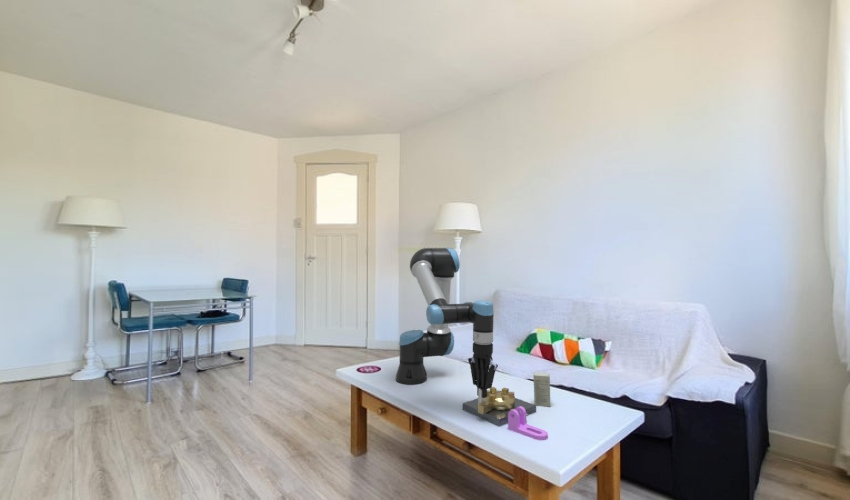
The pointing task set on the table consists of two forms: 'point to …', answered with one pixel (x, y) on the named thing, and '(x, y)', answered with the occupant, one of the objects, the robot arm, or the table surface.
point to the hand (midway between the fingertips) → (481, 405)
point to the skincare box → (542, 389)
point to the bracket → (524, 425)
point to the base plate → (497, 411)
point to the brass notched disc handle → (497, 400)
